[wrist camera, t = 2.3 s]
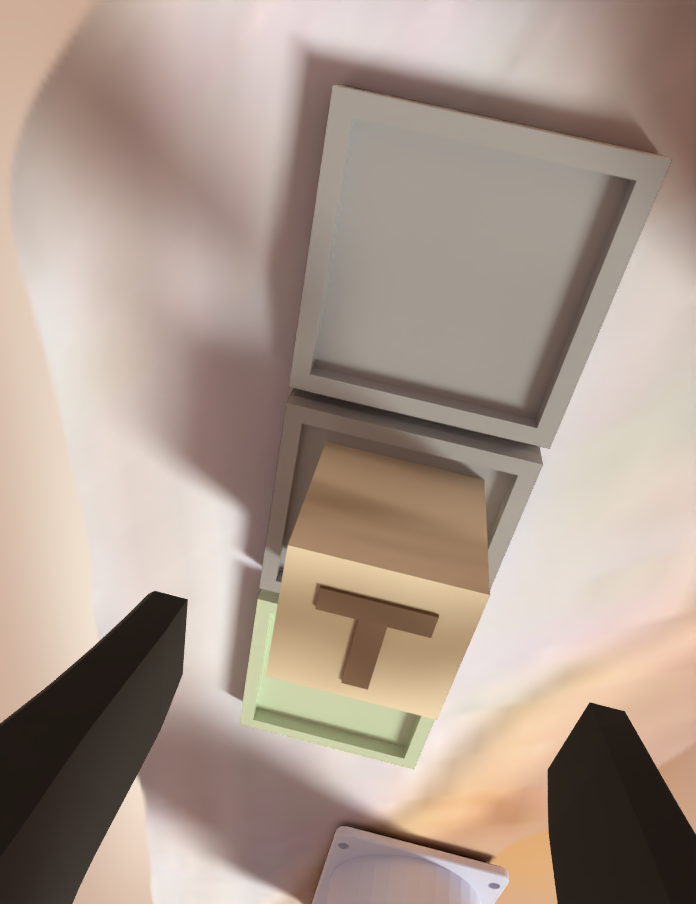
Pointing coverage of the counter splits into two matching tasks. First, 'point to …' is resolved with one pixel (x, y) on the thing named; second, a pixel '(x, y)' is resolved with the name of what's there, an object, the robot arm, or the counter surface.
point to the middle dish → (402, 438)
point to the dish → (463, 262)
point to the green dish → (324, 708)
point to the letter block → (382, 581)
